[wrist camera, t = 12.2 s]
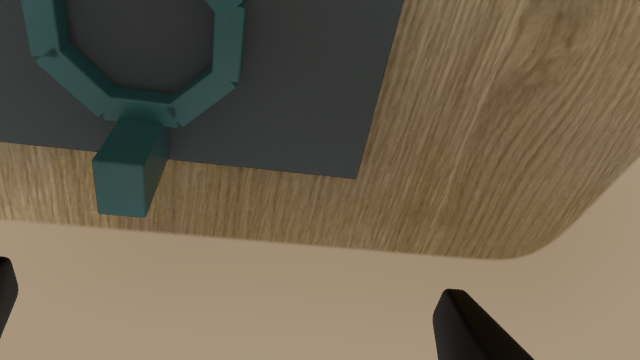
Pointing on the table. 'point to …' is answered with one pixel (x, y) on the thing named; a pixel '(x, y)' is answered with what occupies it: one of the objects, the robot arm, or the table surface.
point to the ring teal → (134, 101)
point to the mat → (196, 56)
